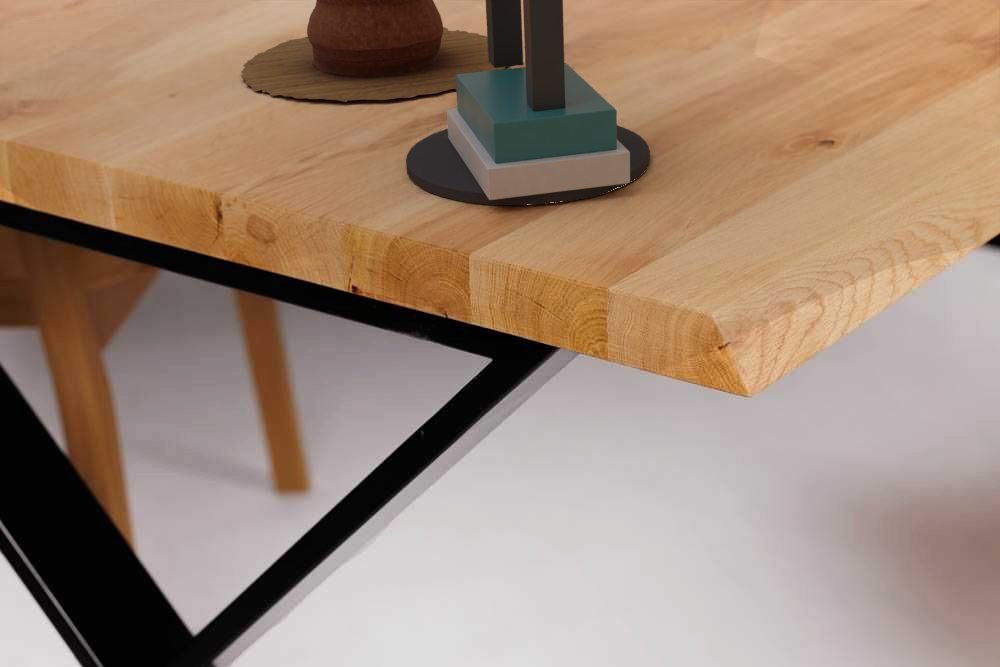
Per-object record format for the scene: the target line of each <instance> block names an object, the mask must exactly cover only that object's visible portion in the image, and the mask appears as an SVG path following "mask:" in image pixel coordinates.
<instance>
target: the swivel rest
mask: <svg viewBox="0 0 1000 667" xmlns="http://www.w3.org/2000/svg"><path fill="white" fill-rule="evenodd" d="M617 140H618V141H619V142H620V143H621V144H622V145H623V146H624V147H625V148H626V149H627V150H628V151H629V152H630V182H631V181H633V180H634V179H636V178H638V177H639V176H640V175H641V174H642V173H643V172H644V171H645V170H646V169H648V168H649V166H650V162H649V161H651V150H650V146H649V144H648V143H647V141H646V140H645V139H644V138H643V137H642V136H641V135H640V134H638V133H636V132H635V131H633V130H630V129H629V128H626V127H623V126H620V125H617ZM405 165H406V166H405V168H406V173H407V176H408V178H409V179H410V181H411V182H413V183H414V185H416V186H417V187H419V189H422V190H424V191H426V192H428V193H430V194H433V195H435V196H439V197H441V198H446V199H449V200H454V201H458V202H463V203H469V204H478V205H486V206H487V205H489V206H503V205H526V206H528V205H527V204H544V205H546V204H545V203H550V202H554V203H555V202H560V201H563V203H566V202H565V201H570V202H573V201H572V200H576V201H578V200H577V199H581V200H586V199H590V198H594V197H593V196H595V197H598V196H597V195H599V196H601V195H600V194H602V195H604V194H603V193H605V194H607V193H606V192H608V191H611V190H613V189H615V188H617V187H621V186H623V185H625V184H618V185H610V186H602V187H593V188H585V189H577V190H569V191H561V192H553V193H544V194H536V195H528V196H520V197H512V198H504V199H495V200H489V199H488V197H487V196H486V194H485V193H484V191H483V190H482V188H481V187H480V185H479V184H478V182H477V181H476V179H475V178H474V176H473V175H472V173H471V172H470V170H469V168H468V167H467V165H466V164H465V162H464V161H463V159H462V158H461V156H460V155H459V153H458V152H457V150H456V149H455V147H454V146H453V144H452V143H451V141H450V140H449V138H448V128H445V129H442V130H439V131H437V132H434V133H432V134H430V135H428V136H426V137H424V138H422V139H421V140H419V141H418V142H417V143H415V144H414V145H413V146H412V147H411V148H410V149H409V151H408V152H407V154H406V157H405ZM647 167H648V168H647ZM646 171H647V170H646ZM646 171H645V172H646ZM641 176H642V175H641ZM641 176H640V177H641ZM640 177H639V178H640ZM639 178H638V179H639ZM636 180H637V179H636ZM633 182H634V181H633ZM626 184H628V183H626ZM628 185H629V184H628ZM589 197H590V198H589ZM585 198H586V199H585ZM555 204H556V203H555Z"/></svg>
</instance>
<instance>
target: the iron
mask: <svg viewBox="0 0 1000 667" xmlns="http://www.w3.org/2000/svg"><path fill="white" fill-rule="evenodd" d="M522 7H523V8H522ZM522 10H523V18H522ZM485 16H486V17H485V18H486V36H487V40H488V61H489V62H490V64H491V65H492V66H493V67H494V68H499V67H505V69H502V70H493V71H483V72H474V73H464V74H456V89H455V91H456V106H455V107H454V108H452V109H447V110H446V124H447V129H448V138H449V140H450V141H451V143H452V144H453V146H454V147H455V149H456V150H457V152H458V153H459V155H460V156H461V158H462V159H463V161H464V162H465V164H466V165H467V167H468V168H469V170H470V172H471V173H472V175H473V176H474V178H475V179H476V181H477V182H478V184H479V185H480V187H481V188H482V190H483V191H484V193H485V194H486V196H487V197H488V199H489V200H495V199H504V198H512V197H520V196H528V195H536V194H544V193H553V192H561V191H569V190H577V189H585V188H593V187H602V186H610V185H618V184H626V183H630V152H629V151H628V150H627V149H626V148H625V147H624V146H623V145H622V144H621V143H620V142H619V141H618V140H617V124H618V123H617V122H618V121H617V119H618V118H617V109H616V108H615V107H614V106H613V105H612V104H611V103H610V102H608V101H607V100H606V98H604V97H603V96H602V94H600V93H599V92H598V91H597V90H596V89H595V88H593V87H592V86H591V85H590V84H589V82H587V81H586V80H585V79H584V78H583V77H582V76H581V75H580V74H578V73H577V71H575V70H574V69H573V68H572V67H571V66H570V65H569V64H568V63H567V62H565V39H564V38H565V30H564V26H565V25H564V0H485ZM522 20H523V21H522ZM523 37H524V38H523ZM523 39H524V42H523ZM523 44H524V45H523ZM524 62H525V63H524ZM524 64H525V65H524ZM518 66H521V67H518ZM522 66H523V67H522ZM508 67H513V68H508ZM630 184H631V183H630Z"/></svg>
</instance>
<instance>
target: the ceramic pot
mask: <svg viewBox="0 0 1000 667" xmlns="http://www.w3.org/2000/svg"><path fill="white" fill-rule="evenodd" d="M307 23H308V24H307V27H306V36H304V37H302V38H300V37H299V38H294V39H289V40H287V41H284V42H280V43H278V44H276V45H275V46H273V47H271V48H268V49H266V50H265V51H263V52H259V53H257V54H256V55H254V57H252V58H251V59H249V60H247V61H246V62H245V63H244V64H243V65H242V66H243V67H244V68H243V69H242V71H241V72H240V73H241V79H242V80H243V81H245V82H244V84H245V85H246V86H248V87H249V86H250V88H251V89H252V91H254V92H255V93H257V92H259V91H261V92H262V93H267V94H268V93H269V95H270V96H272V97H275V96H283V97H292V98H294V99H297V100H299V99H301V100H302V99H308V100H321V99H322V100H328V101H339V102H344V103H347V102H348V101H358V100H359V101H361V100H366V101H372V100H373V101H375V100H376V101H386V100H393V99H409V98H415V97H417V96H421V95H432V94H439V93H441V92H445V91H446V92H447V91H450V90H456V74H464V73H474V72H483V71H493V70H502V69H506V67H499V68H494V67H493V66H492V65H491V64H490V62H489V61H488V40H487V35H483V34H479V33H476V32H468V31H466V30H459V29H455V30H449V29H448V28H447V27H444V24H443V20H442V17H441V13H440V12H439V10H438V8H437V6H436V3H435V2H434V0H316V1H315V6H314V8H313V9H312V11H311V13H310V16H309V19H308V22H307Z"/></svg>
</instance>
